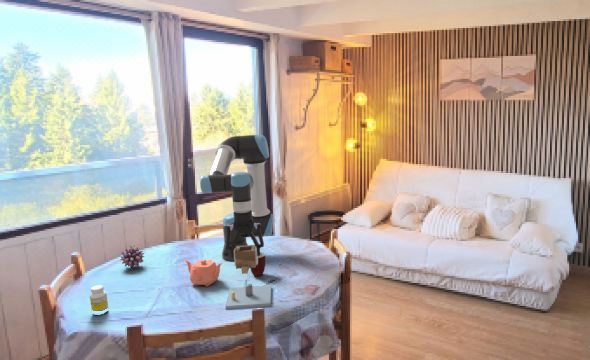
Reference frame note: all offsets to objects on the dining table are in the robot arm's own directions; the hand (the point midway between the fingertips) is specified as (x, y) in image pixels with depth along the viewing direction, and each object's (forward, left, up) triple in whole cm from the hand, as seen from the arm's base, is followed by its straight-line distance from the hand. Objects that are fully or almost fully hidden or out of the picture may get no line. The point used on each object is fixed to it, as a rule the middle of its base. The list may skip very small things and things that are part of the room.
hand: (246, 263), depth 187 cm
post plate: (0, 0, -15) cm, 15 cm away
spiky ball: (-45, -62, -15) cm, 78 cm away
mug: (-23, +3, -15) cm, 28 cm away
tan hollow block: (+3, 0, 0) cm, 3 cm away
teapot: (-18, -22, -15) cm, 32 cm away
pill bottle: (+5, -60, -15) cm, 62 cm away
